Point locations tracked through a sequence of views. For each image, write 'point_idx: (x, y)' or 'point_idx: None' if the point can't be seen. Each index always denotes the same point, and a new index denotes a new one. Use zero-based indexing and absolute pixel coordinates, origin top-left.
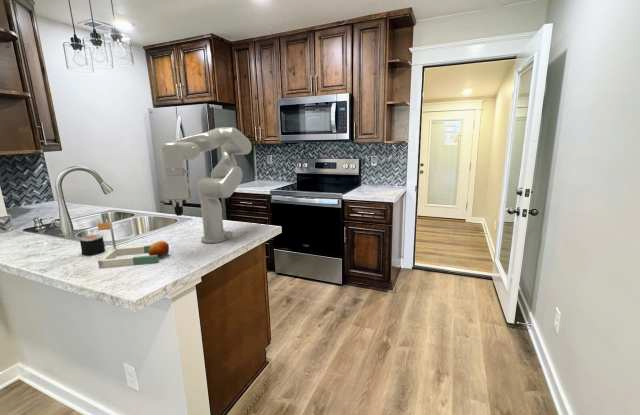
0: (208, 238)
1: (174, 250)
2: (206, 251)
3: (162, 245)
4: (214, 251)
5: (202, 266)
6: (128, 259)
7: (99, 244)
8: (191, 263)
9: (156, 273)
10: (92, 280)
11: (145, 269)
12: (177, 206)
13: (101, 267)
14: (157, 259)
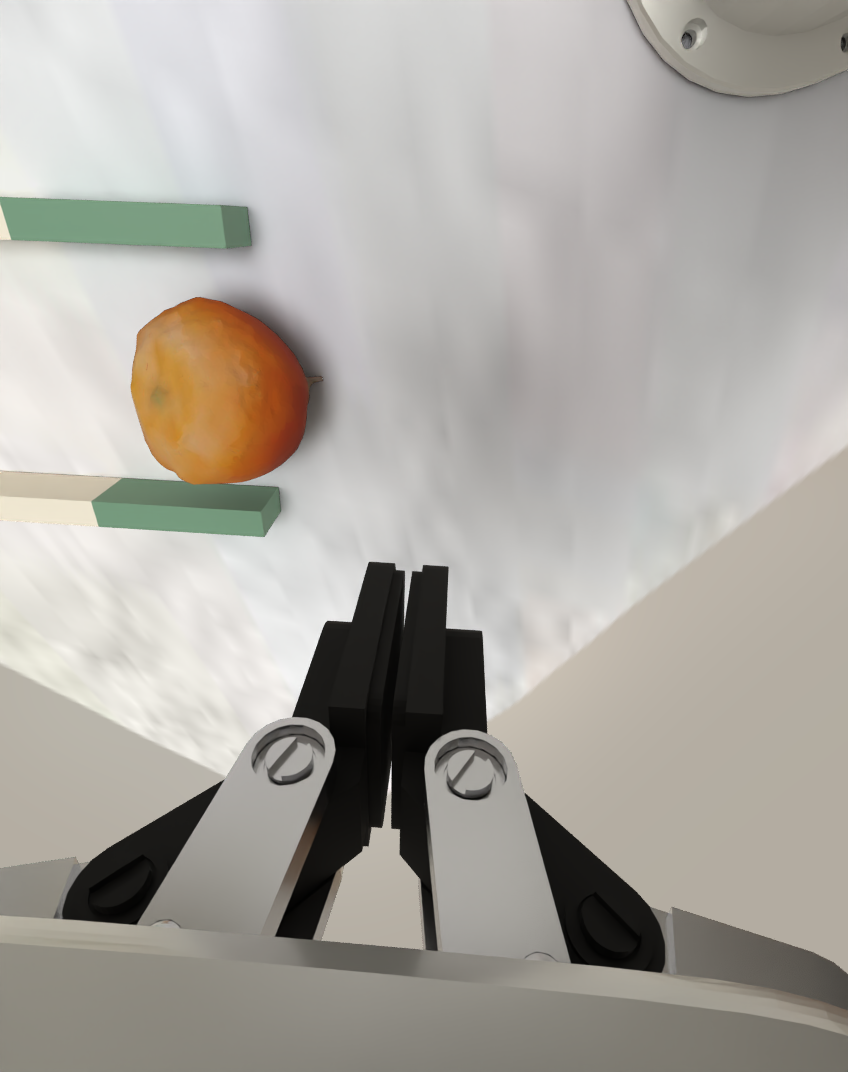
0: (725, 4)
1: (327, 237)
2: (635, 369)
3: (259, 469)
4: (705, 392)
5: (584, 644)
6: (74, 521)
7: None
8: (515, 584)
9: None
10: (30, 642)
11: (245, 590)
12: (367, 800)
13: None
14: (272, 514)
